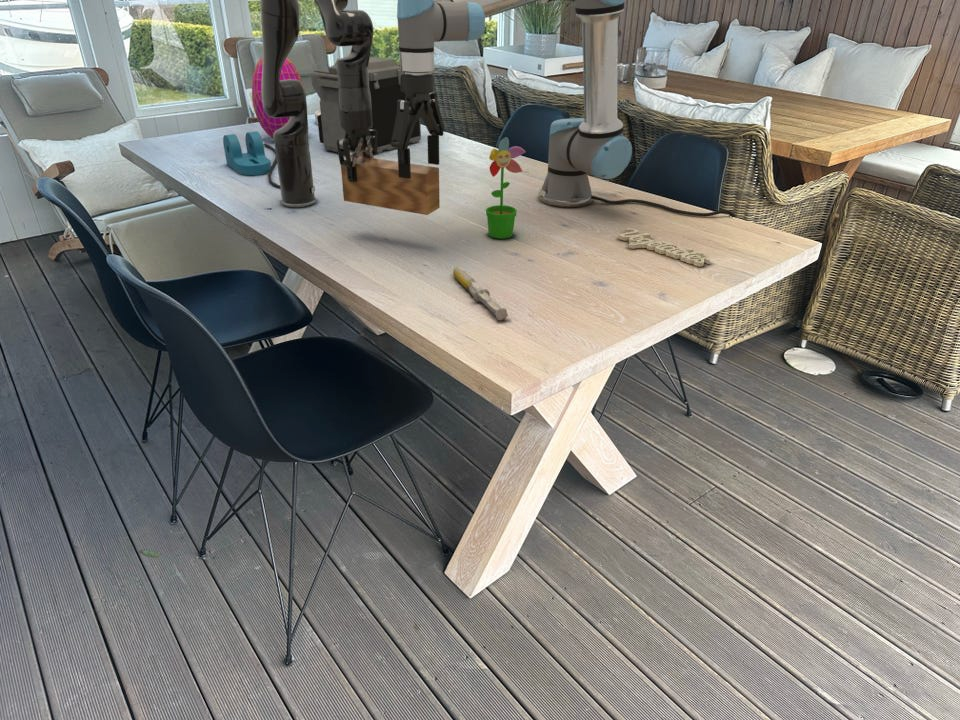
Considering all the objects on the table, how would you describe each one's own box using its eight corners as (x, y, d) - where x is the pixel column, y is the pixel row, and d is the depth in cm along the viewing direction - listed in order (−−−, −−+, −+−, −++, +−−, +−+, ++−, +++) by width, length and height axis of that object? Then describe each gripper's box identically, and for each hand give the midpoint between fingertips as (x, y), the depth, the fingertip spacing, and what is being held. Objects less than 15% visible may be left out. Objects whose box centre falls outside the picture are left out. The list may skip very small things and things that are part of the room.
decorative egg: (293, 132, 276) (283, 50, 261) (319, 140, 264) (310, 56, 249) (249, 139, 265) (236, 54, 250) (273, 148, 253) (261, 60, 238)
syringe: (449, 274, 155) (449, 263, 153) (465, 272, 156) (464, 260, 154) (490, 323, 135) (491, 310, 133) (508, 319, 136) (508, 307, 134)
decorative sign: (605, 235, 174) (629, 227, 180) (604, 239, 175) (629, 230, 181) (694, 266, 158) (718, 256, 163) (693, 270, 158) (717, 260, 164)
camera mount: (227, 164, 233) (221, 132, 227) (257, 160, 238) (252, 129, 233) (244, 176, 220) (239, 143, 215) (276, 172, 225) (271, 139, 220)
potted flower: (492, 242, 172) (494, 140, 160) (478, 232, 178) (479, 133, 166) (525, 236, 176) (529, 136, 163) (510, 227, 182) (513, 130, 169)
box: (439, 207, 166) (439, 167, 161) (427, 215, 161) (426, 174, 156) (357, 194, 174) (354, 155, 169) (343, 200, 170) (340, 161, 165)
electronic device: (383, 133, 276) (378, 52, 261) (425, 141, 265) (422, 56, 250) (314, 150, 251) (304, 61, 235) (358, 160, 240) (350, 67, 224)
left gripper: (359, 100, 166) (364, 169, 175) (323, 110, 155) (330, 183, 164) (385, 102, 164) (389, 173, 172) (351, 113, 152) (356, 187, 161)
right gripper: (429, 64, 160) (431, 156, 171) (370, 78, 141) (376, 181, 151) (458, 67, 157) (458, 160, 168) (402, 81, 138) (406, 186, 149)
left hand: (360, 177), depth 168 cm, fingers closed on box, 6 cm apart
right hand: (419, 170), depth 160 cm, fingers open, 13 cm apart
